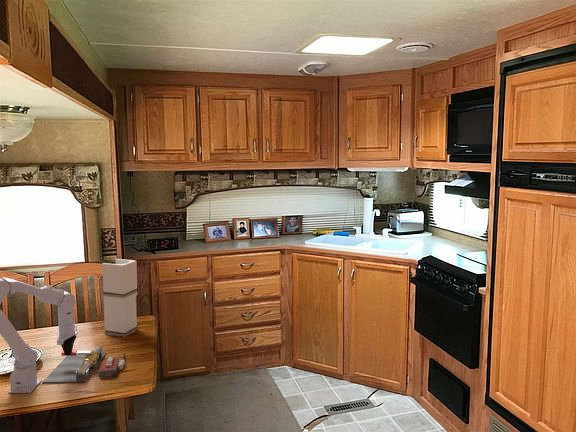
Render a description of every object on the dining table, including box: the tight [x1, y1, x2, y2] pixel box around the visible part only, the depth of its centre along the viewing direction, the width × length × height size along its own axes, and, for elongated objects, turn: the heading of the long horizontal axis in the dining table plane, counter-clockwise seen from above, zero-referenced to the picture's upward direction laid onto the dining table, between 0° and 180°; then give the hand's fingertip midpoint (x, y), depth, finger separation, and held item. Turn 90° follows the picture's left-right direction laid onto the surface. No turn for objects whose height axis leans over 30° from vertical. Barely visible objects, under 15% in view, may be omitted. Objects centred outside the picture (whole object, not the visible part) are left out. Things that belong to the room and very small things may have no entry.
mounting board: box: [42, 352, 107, 384], centre depth 194 cm, size 26×16×1 cm, turn 3°
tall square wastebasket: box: [101, 258, 139, 338], centre depth 231 cm, size 11×11×35 cm
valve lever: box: [60, 349, 94, 357], centre depth 194 cm, size 12×3×1 cm, turn 93°
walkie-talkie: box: [98, 353, 126, 379], centre depth 195 cm, size 9×4×20 cm
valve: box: [76, 345, 105, 378], centre depth 194 cm, size 22×4×5 cm, turn 3°
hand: (68, 354), depth 189 cm, fingers closed
